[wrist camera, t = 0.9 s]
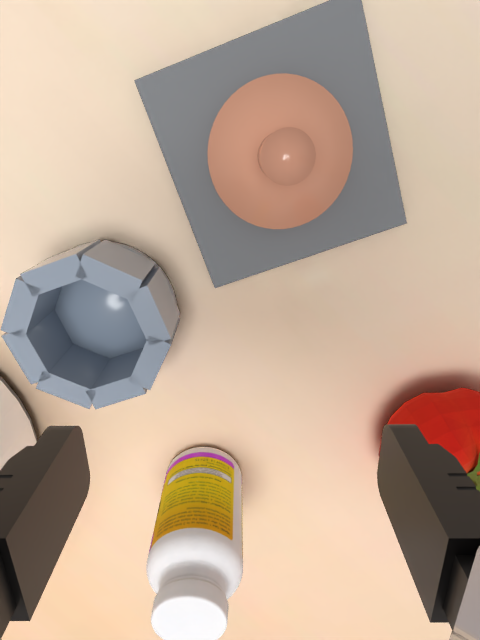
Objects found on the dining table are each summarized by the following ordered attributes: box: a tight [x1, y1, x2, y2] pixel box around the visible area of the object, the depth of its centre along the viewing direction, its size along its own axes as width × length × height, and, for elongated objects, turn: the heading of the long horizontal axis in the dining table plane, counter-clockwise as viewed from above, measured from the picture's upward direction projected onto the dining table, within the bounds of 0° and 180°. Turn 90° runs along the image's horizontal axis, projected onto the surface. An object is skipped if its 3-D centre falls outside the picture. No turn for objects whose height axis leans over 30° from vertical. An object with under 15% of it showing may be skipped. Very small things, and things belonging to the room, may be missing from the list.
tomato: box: [379, 388, 480, 491], centre depth 33 cm, size 11×11×8 cm
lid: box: [208, 73, 353, 229], centre depth 25 cm, size 9×9×6 cm
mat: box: [134, 0, 407, 288], centre depth 28 cm, size 14×14×1 cm
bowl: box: [1, 239, 180, 409], centre depth 30 cm, size 10×10×6 cm
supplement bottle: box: [147, 447, 243, 640], centre depth 32 cm, size 7×7×13 cm
